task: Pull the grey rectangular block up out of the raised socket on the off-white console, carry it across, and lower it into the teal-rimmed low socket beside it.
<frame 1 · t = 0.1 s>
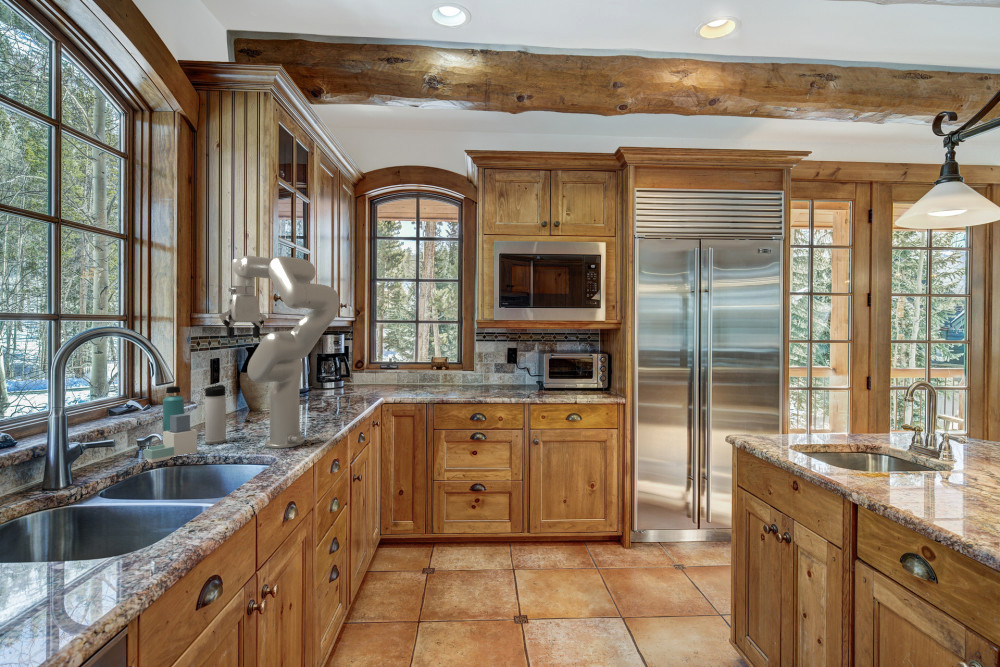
hand: (243, 338, 179), 37 cm above the countertop, tool pointing down, fingers open, 9 cm apart
grey rectangular block: (180, 440, 155), point 4 cm above the countertop, touching console
travel mug: (216, 443, 170), on the countertop
beverage bottle: (174, 443, 169), on the countertop
console: (169, 456, 152), on the countertop
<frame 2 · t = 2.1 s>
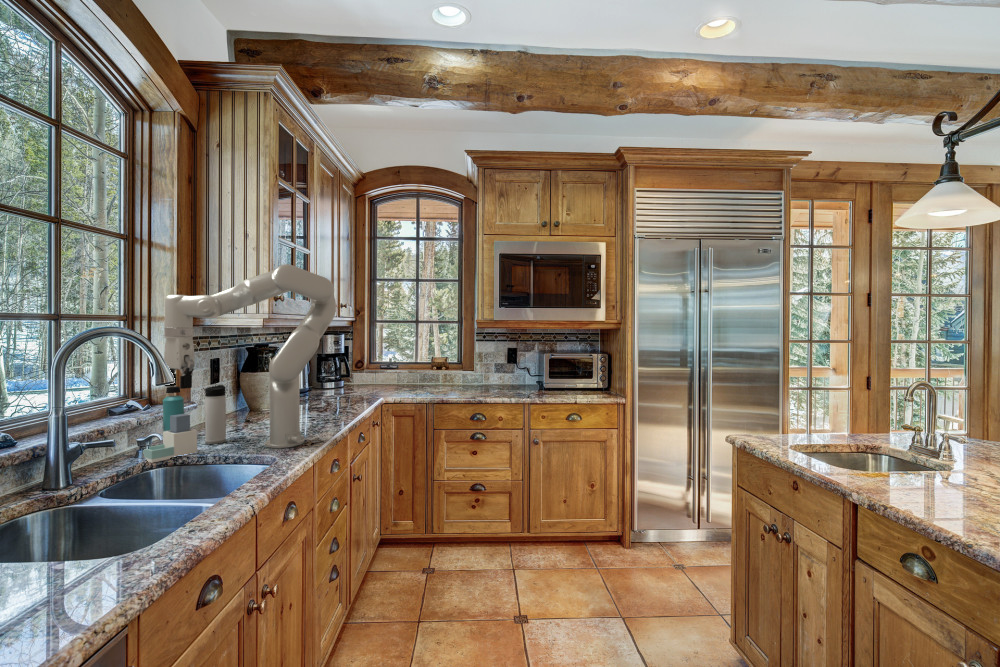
hand: (178, 387, 154), 22 cm above the countertop, tool pointing down, fingers open, 9 cm apart
nothing on the countertop moved.
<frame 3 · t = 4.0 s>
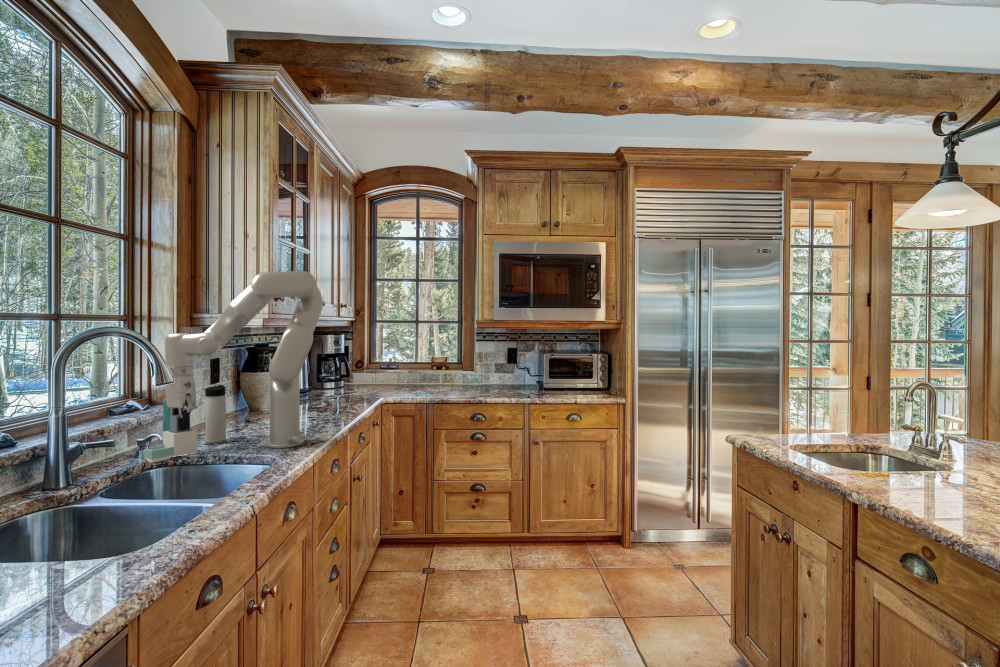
hand: (180, 428, 155), 8 cm above the countertop, tool pointing down, fingers closed on grey rectangular block, 4 cm apart
grey rectangular block: (180, 440, 154), point 5 cm above the countertop, touching gripper
everything else where it was.
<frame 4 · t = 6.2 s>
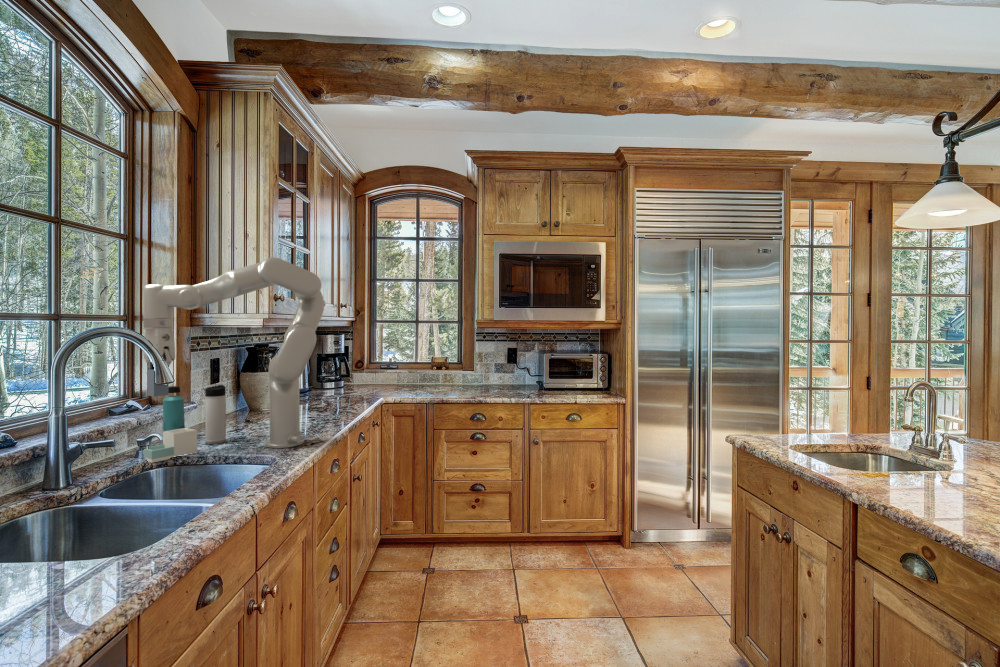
hand: (158, 383, 149), 23 cm above the countertop, tool pointing down, fingers closed on grey rectangular block, 4 cm apart
grey rectangular block: (158, 395, 149), point 20 cm above the countertop, touching gripper
everything else where it was.
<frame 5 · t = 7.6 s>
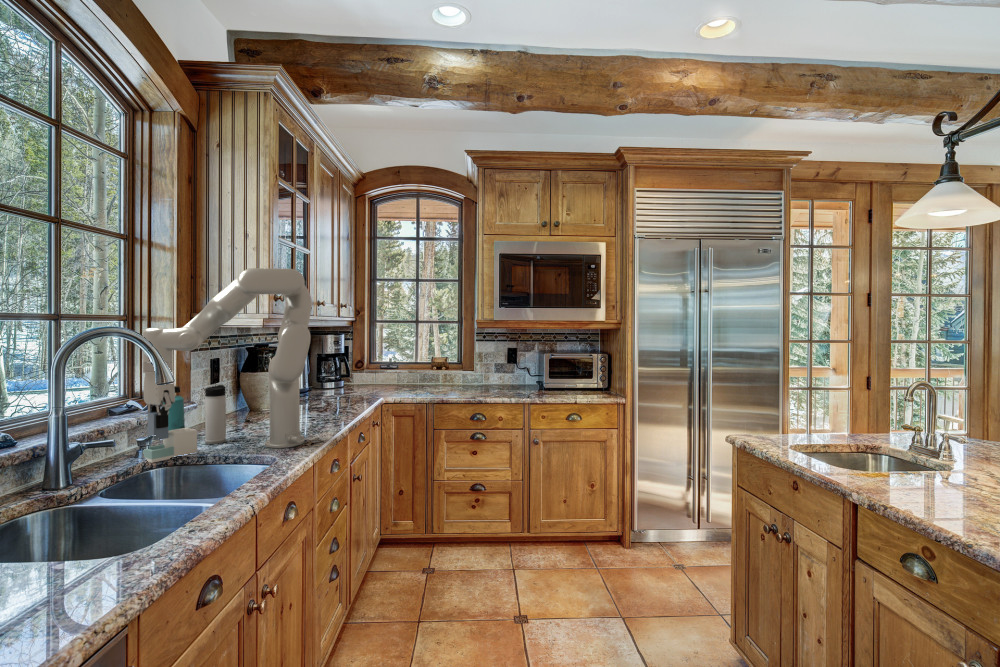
hand: (158, 426, 149), 10 cm above the countertop, tool pointing down, fingers closed on grey rectangular block, 4 cm apart
grey rectangular block: (158, 438, 149), point 6 cm above the countertop, touching gripper
everything else where it was.
when the fingers open (6 cm above the countertop, at t = 8.7 s): grey rectangular block stays where it is, resting on console.
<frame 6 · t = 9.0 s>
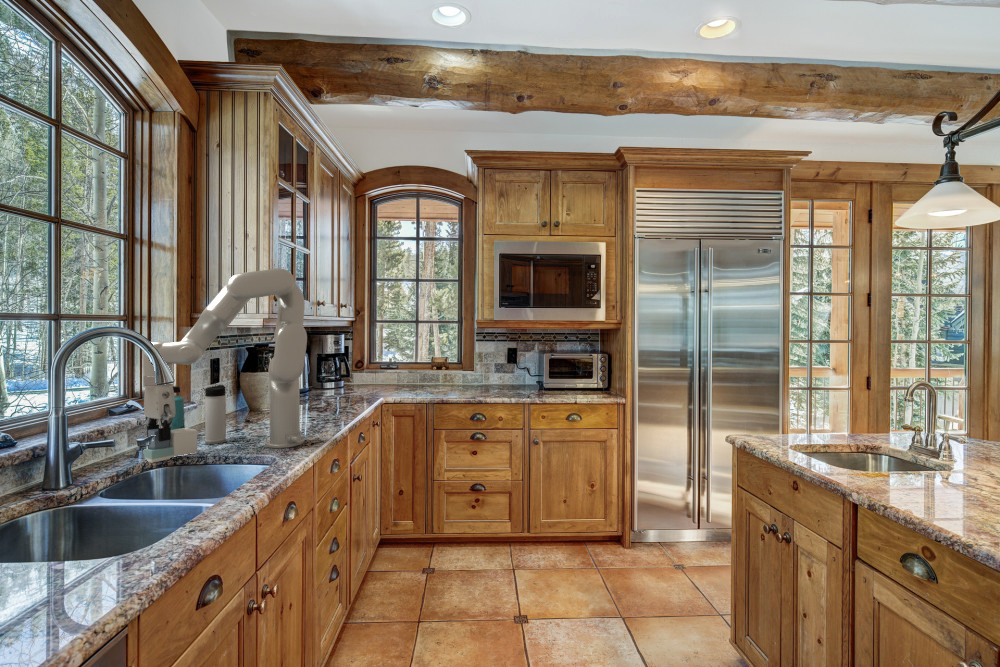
hand: (158, 438, 149), 6 cm above the countertop, tool pointing down, fingers open, 6 cm apart
grey rectangular block: (158, 455, 149), point 1 cm above the countertop, touching console
everything else where it was.
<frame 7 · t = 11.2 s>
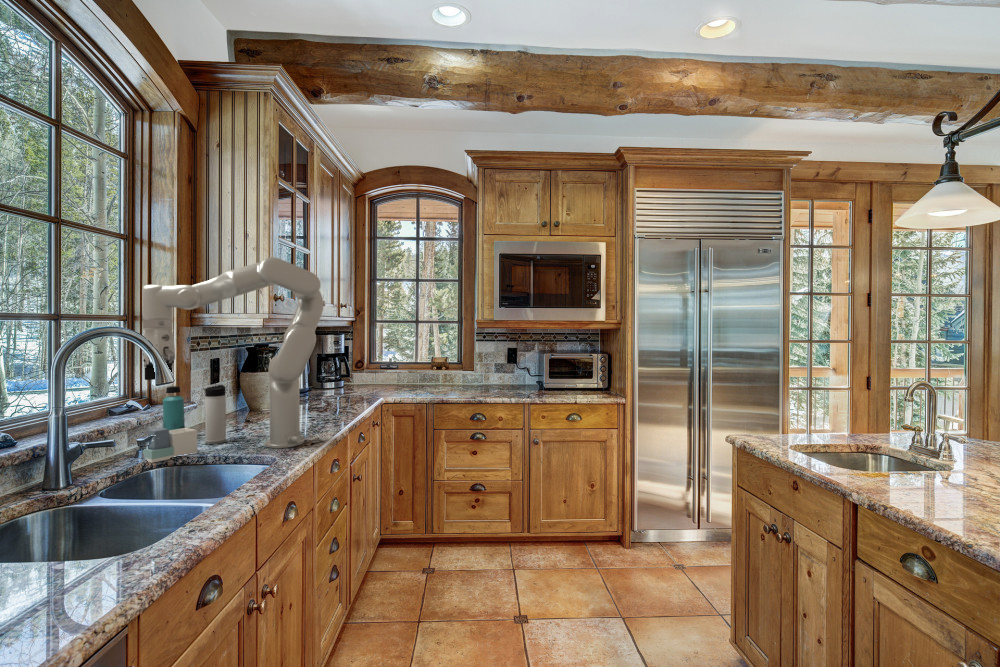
hand: (158, 380, 149), 24 cm above the countertop, tool pointing down, fingers open, 9 cm apart
nothing on the countertop moved.
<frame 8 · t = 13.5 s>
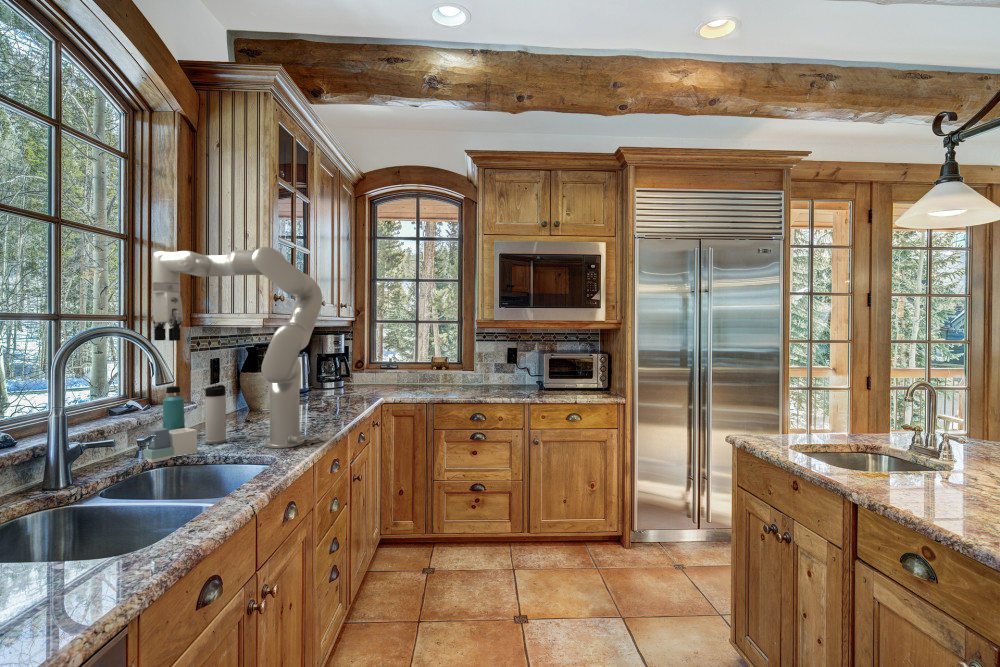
hand: (167, 340, 161), 36 cm above the countertop, tool pointing down, fingers open, 9 cm apart
nothing on the countertop moved.
at the end: grey rectangular block 0.1 cm from the target spot on the console, point 1.0 cm above the console's base; grey rectangular block tilted 0°; the gripper is holding nothing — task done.
